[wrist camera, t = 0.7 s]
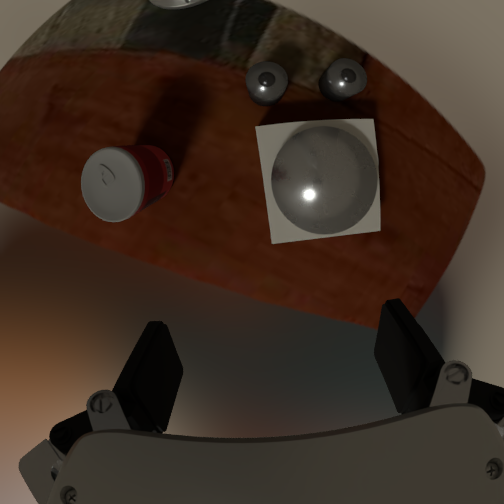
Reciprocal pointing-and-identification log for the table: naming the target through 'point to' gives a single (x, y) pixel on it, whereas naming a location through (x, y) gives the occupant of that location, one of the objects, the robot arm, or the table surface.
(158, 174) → the canned food
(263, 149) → the scale
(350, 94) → the spacer
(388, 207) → the table surface
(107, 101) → the table surface
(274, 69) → the spacer
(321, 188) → the pan
